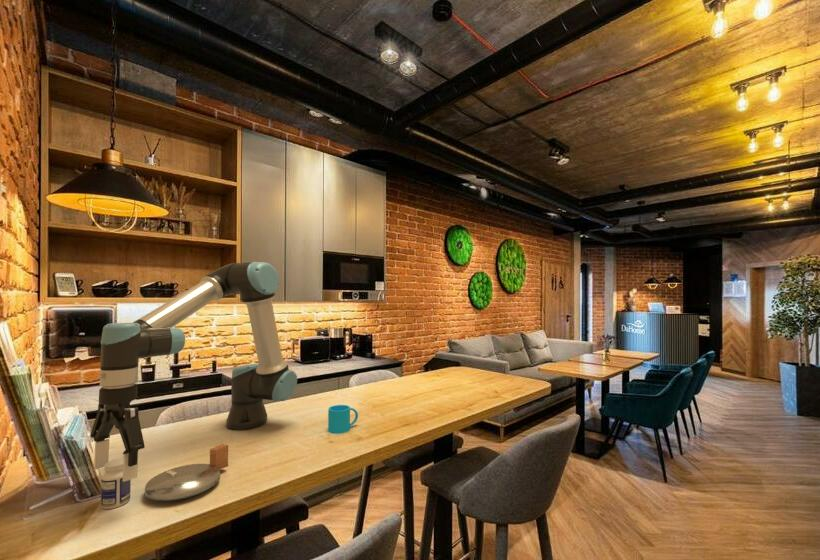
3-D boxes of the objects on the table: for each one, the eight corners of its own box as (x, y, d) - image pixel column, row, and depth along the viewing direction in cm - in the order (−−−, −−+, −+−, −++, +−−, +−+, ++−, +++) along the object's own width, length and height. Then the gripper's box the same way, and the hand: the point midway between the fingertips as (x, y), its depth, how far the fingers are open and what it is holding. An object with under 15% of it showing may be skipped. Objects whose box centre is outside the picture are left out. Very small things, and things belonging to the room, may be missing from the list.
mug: (333, 435, 136) (333, 412, 136) (324, 428, 142) (324, 407, 143) (362, 428, 143) (362, 406, 143) (353, 422, 149) (353, 402, 150)
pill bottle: (126, 494, 96) (127, 455, 96) (133, 502, 92) (134, 461, 92) (97, 504, 91) (99, 462, 92) (103, 512, 88) (105, 469, 88)
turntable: (130, 490, 95) (131, 467, 95) (206, 459, 113) (207, 439, 113) (169, 508, 87) (170, 482, 87) (244, 471, 105) (245, 450, 105)
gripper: (76, 383, 95) (72, 468, 94) (128, 394, 84) (124, 491, 82) (110, 377, 102) (107, 457, 101) (163, 387, 90) (160, 477, 89)
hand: (115, 473), depth 92 cm, fingers open, 13 cm apart
